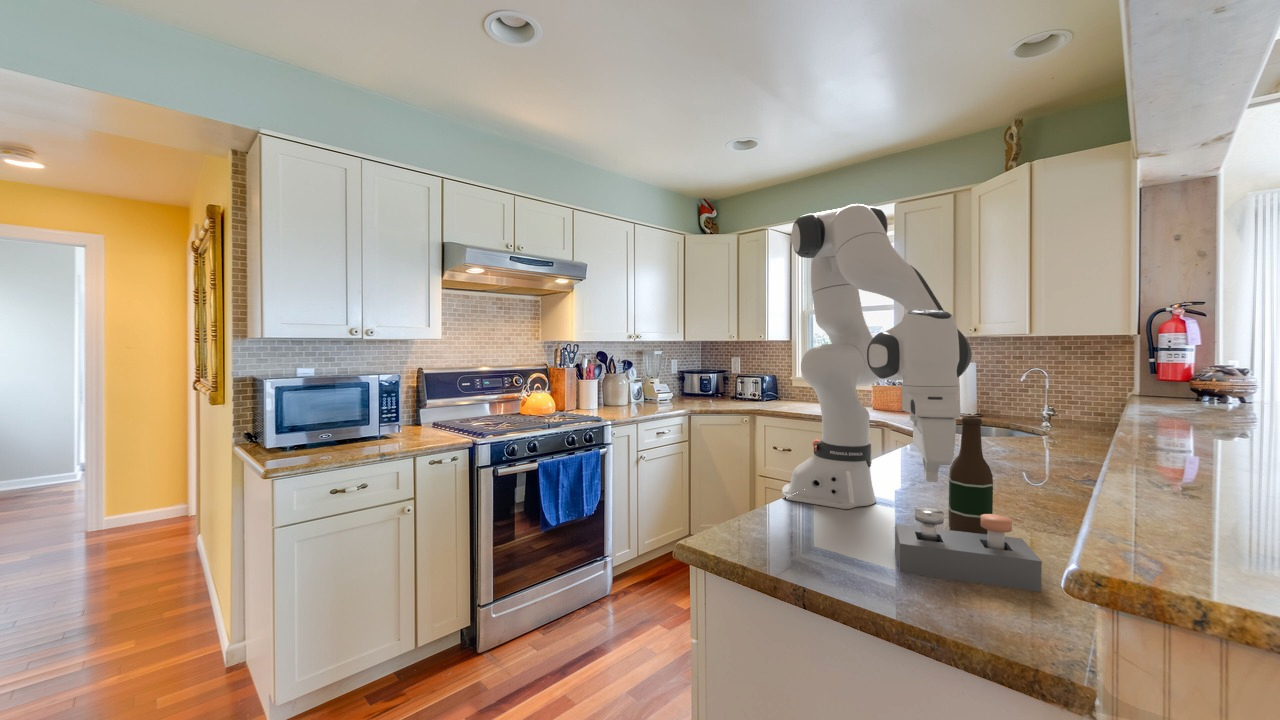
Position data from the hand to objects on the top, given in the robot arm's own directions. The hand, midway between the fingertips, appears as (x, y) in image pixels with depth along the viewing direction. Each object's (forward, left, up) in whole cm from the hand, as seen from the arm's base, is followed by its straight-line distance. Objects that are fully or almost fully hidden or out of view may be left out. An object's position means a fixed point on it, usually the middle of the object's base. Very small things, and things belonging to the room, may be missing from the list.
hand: (931, 480), depth 91 cm
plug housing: (+5, 0, -15) cm, 16 cm away
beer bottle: (+10, +20, -16) cm, 27 cm away
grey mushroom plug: (0, 0, -12) cm, 12 cm away
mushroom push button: (+10, 0, -12) cm, 15 cm away
